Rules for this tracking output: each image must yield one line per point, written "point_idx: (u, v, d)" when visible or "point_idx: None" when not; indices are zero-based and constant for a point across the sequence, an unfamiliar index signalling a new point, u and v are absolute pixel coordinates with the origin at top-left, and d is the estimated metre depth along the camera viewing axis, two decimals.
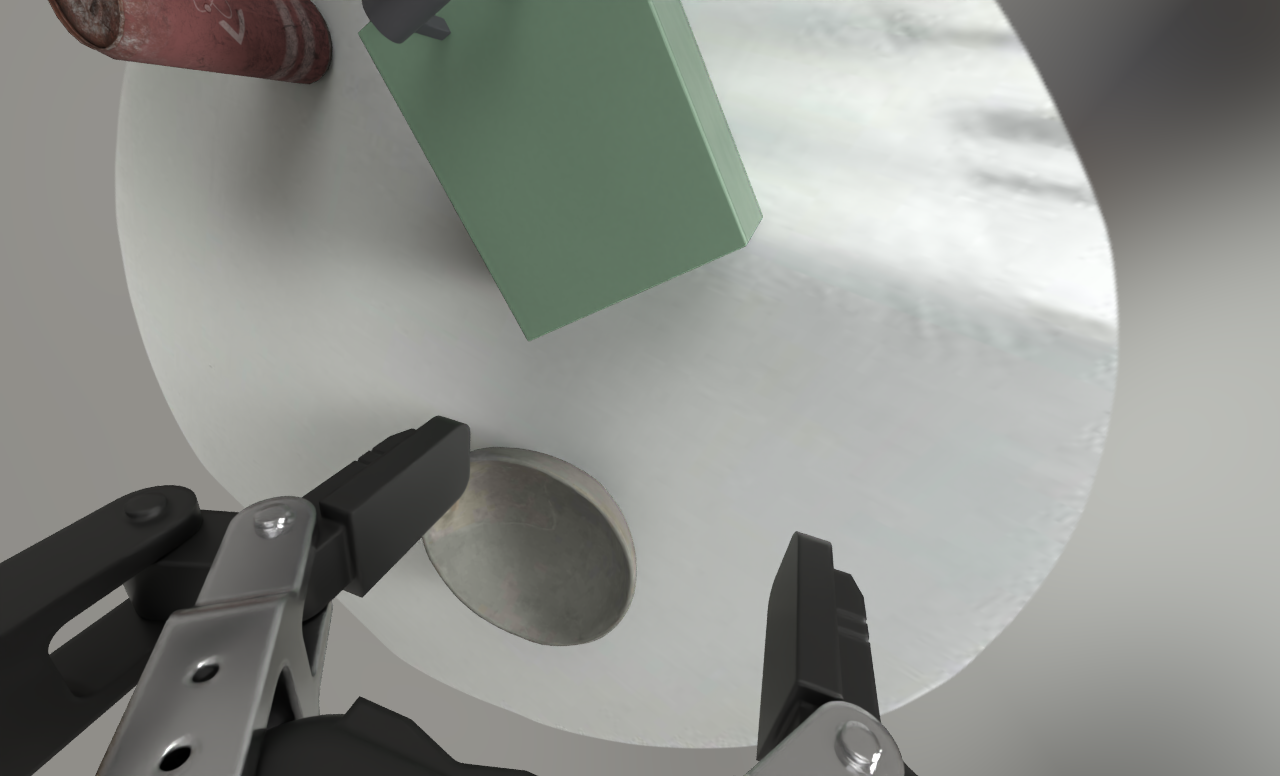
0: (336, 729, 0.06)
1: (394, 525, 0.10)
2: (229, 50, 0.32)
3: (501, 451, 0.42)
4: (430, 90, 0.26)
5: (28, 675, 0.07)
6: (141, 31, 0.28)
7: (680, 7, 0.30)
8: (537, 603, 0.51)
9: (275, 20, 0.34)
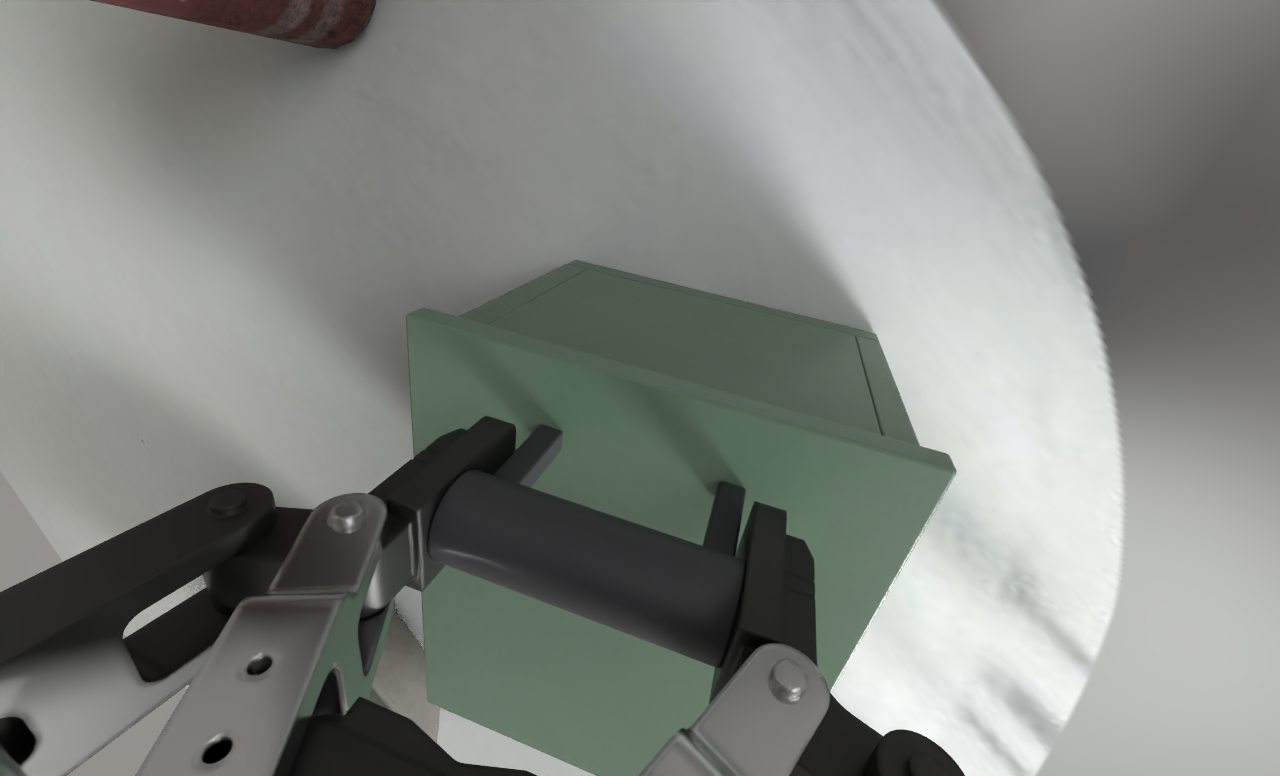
0: (336, 729, 0.06)
1: None
2: (151, 2, 0.16)
3: None
4: None
5: (102, 658, 0.07)
6: None
7: None
8: None
9: None
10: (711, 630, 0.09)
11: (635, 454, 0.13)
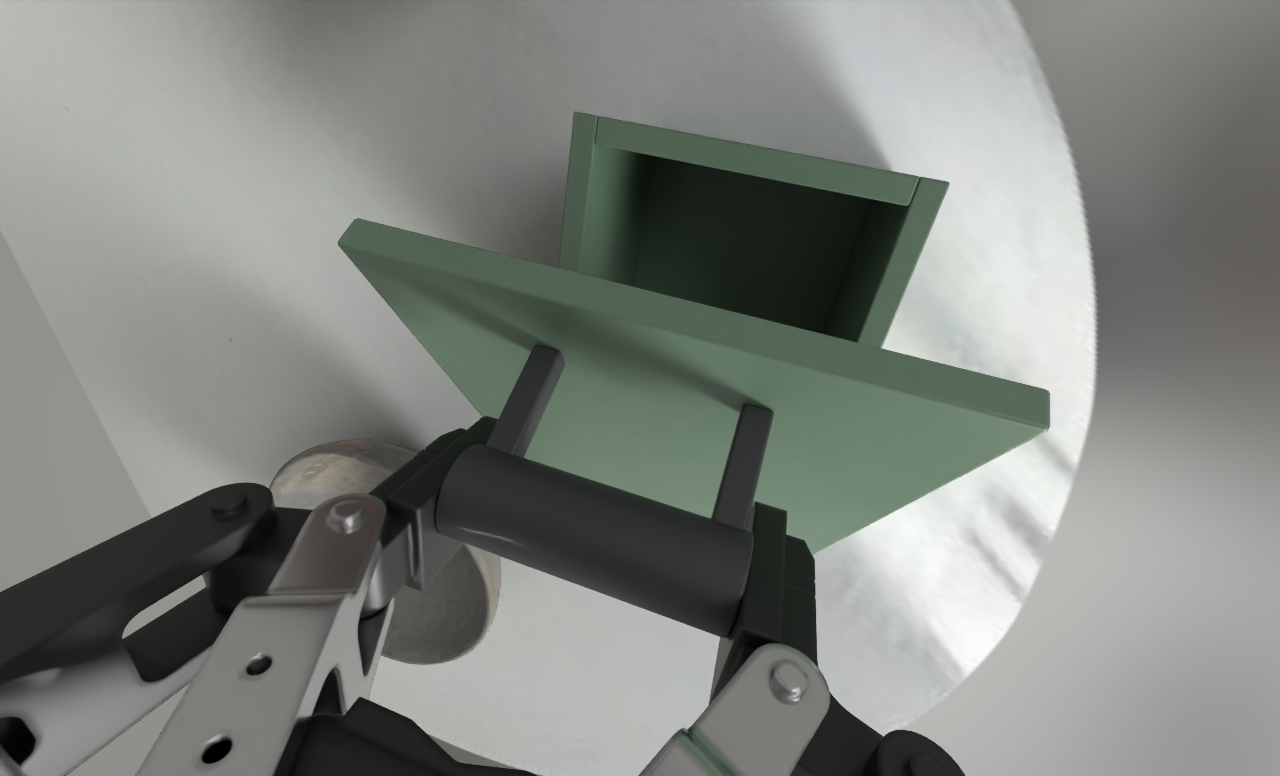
0: (336, 729, 0.06)
1: None
2: None
3: None
4: (489, 363, 0.14)
5: (102, 658, 0.07)
6: None
7: None
8: None
9: None
10: (711, 626, 0.09)
11: (645, 374, 0.11)
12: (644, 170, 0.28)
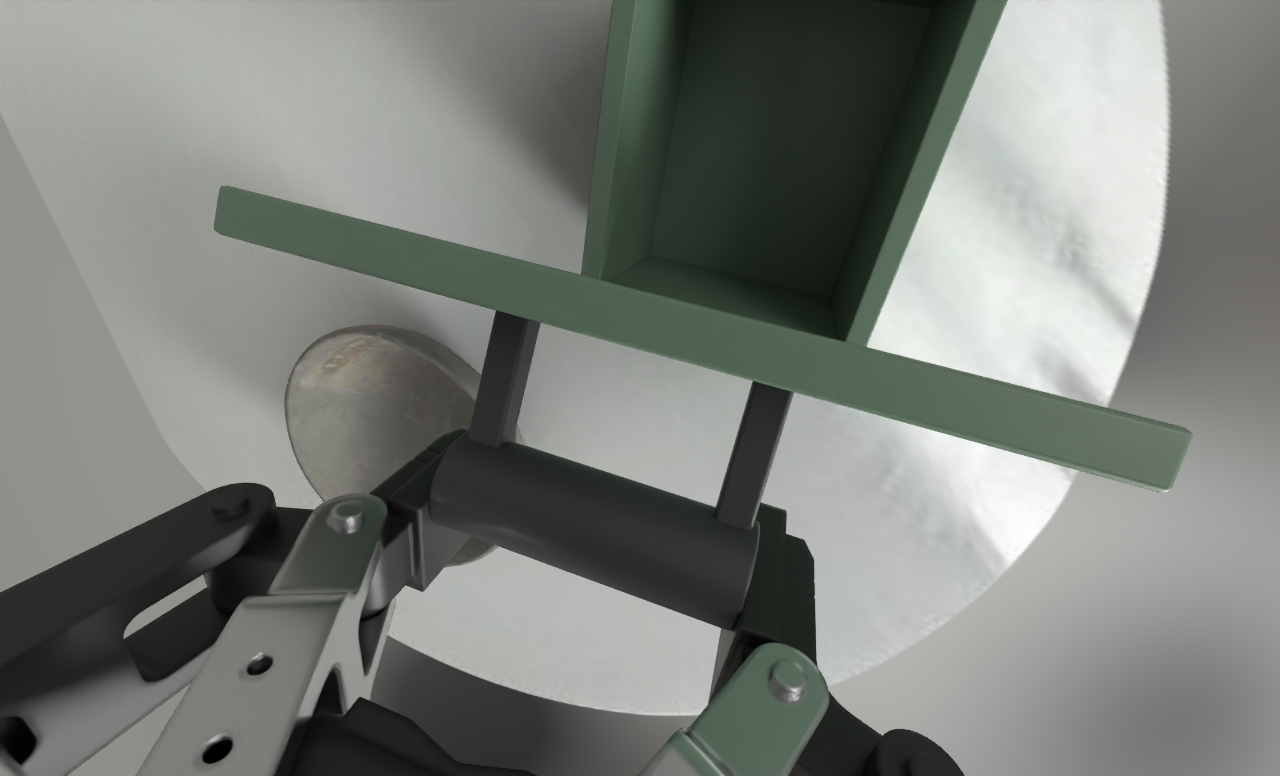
0: (336, 729, 0.06)
1: None
2: None
3: (441, 354, 0.36)
4: None
5: (103, 658, 0.07)
6: None
7: None
8: None
9: None
10: None
11: None
12: None
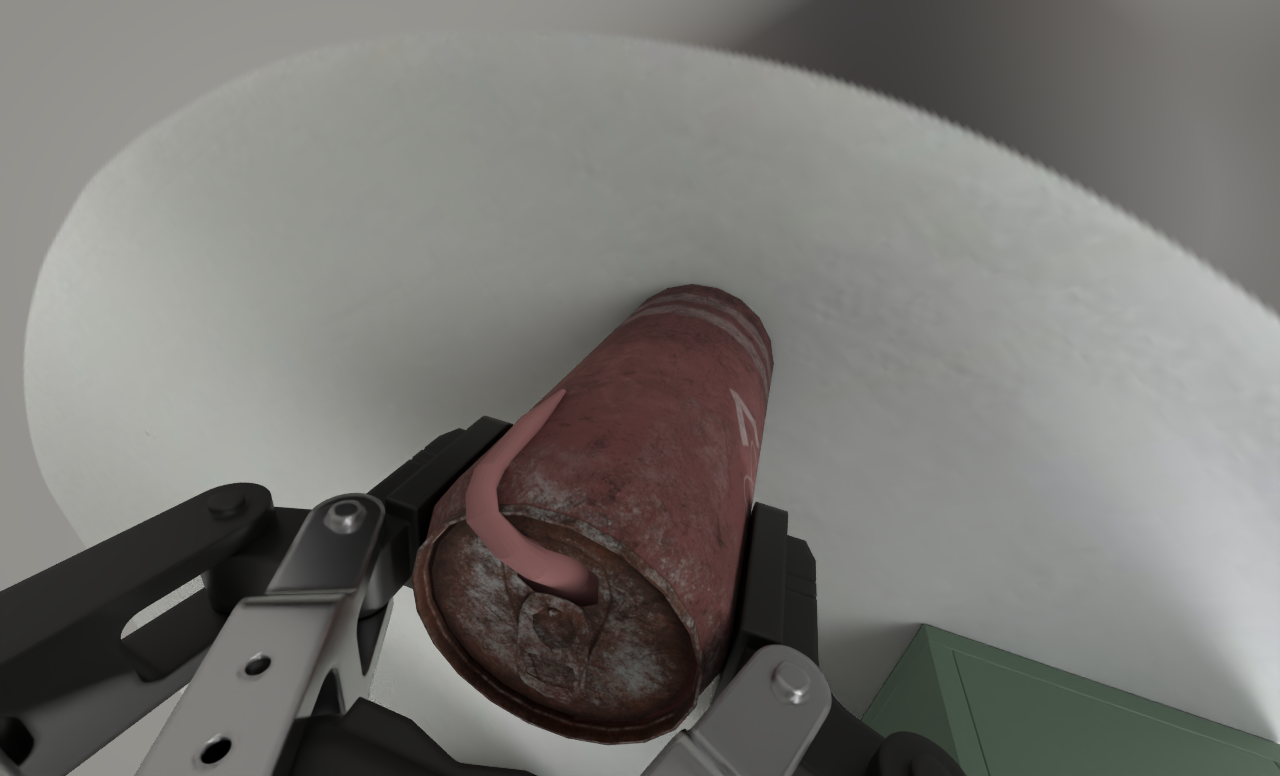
0: (336, 729, 0.06)
1: None
2: None
3: None
4: None
5: (100, 658, 0.07)
6: None
7: None
8: None
9: None
10: None
11: None
12: None
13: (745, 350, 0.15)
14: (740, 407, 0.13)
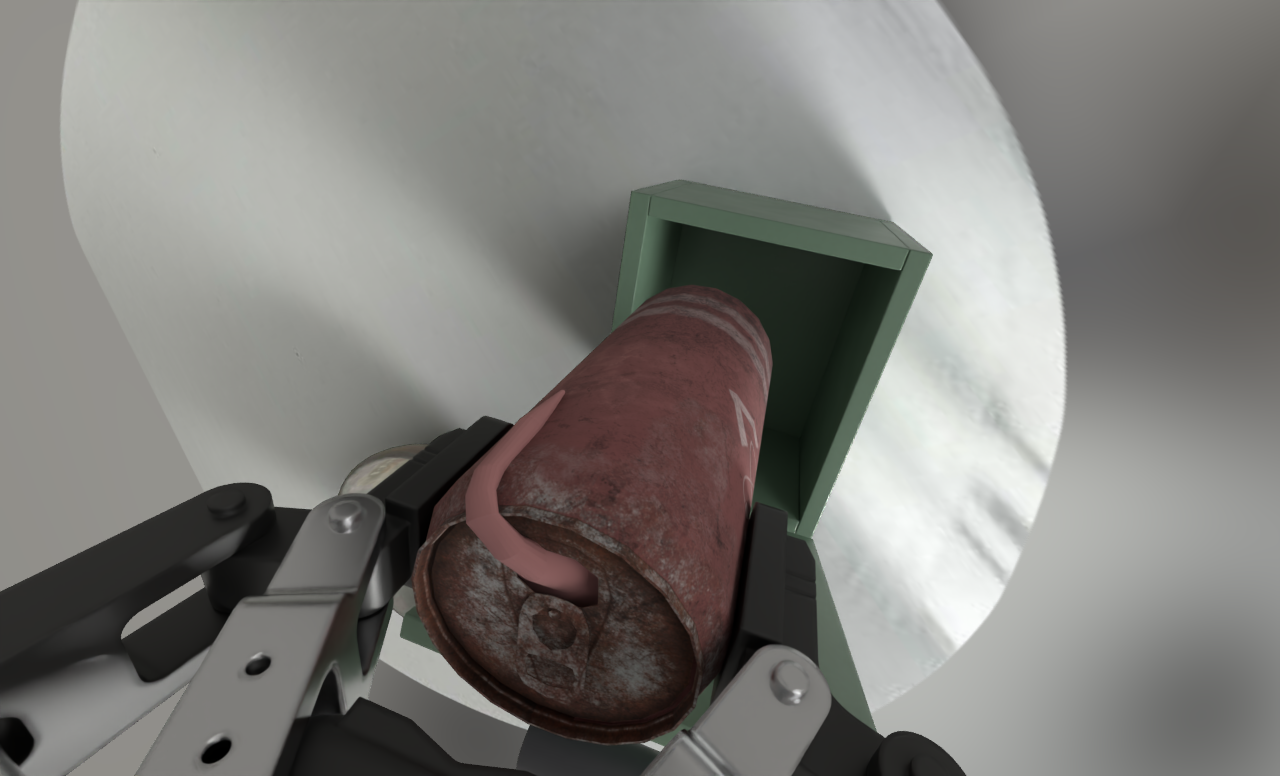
0: (336, 729, 0.06)
1: None
2: None
3: None
4: None
5: (100, 658, 0.07)
6: None
7: None
8: None
9: None
10: None
11: None
12: None
13: (744, 350, 0.16)
14: (739, 407, 0.13)
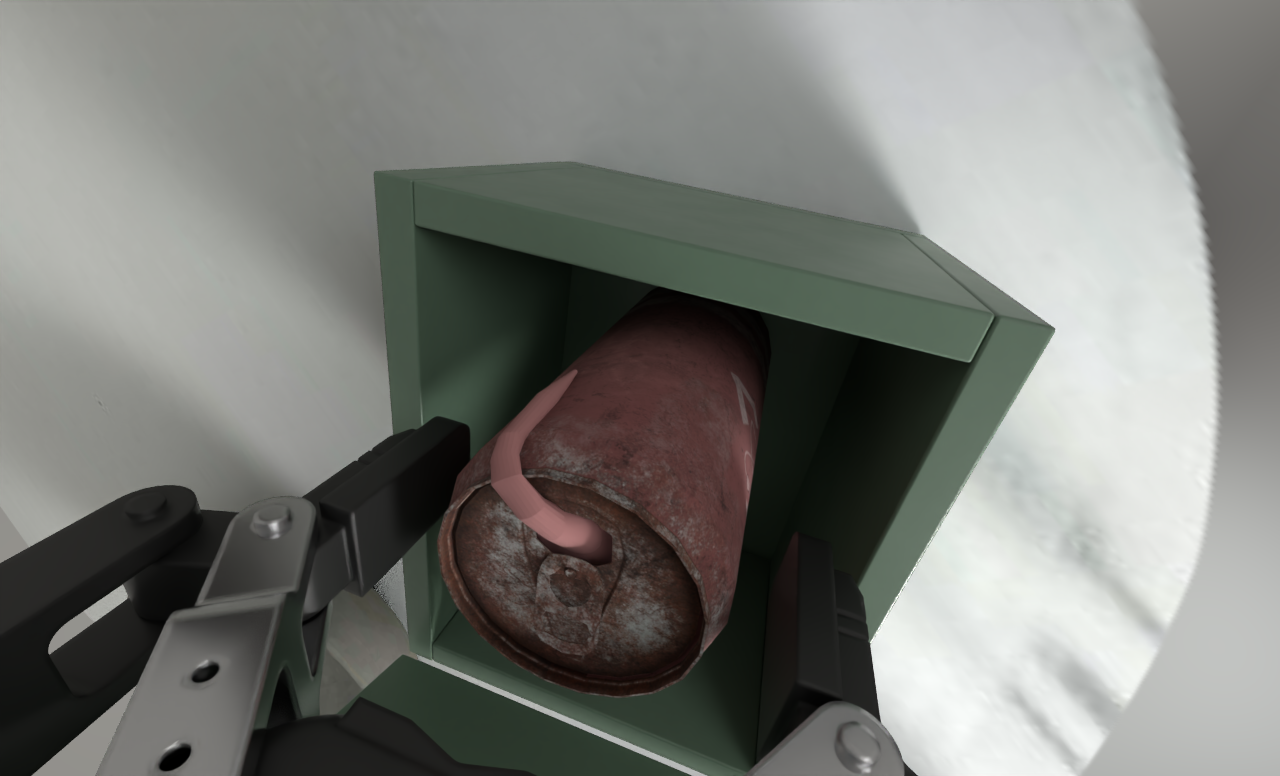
0: (336, 729, 0.06)
1: (394, 525, 0.10)
2: None
3: None
4: None
5: (28, 675, 0.07)
6: None
7: None
8: None
9: None
10: None
11: None
12: None
13: (744, 337, 0.16)
14: (740, 389, 0.13)
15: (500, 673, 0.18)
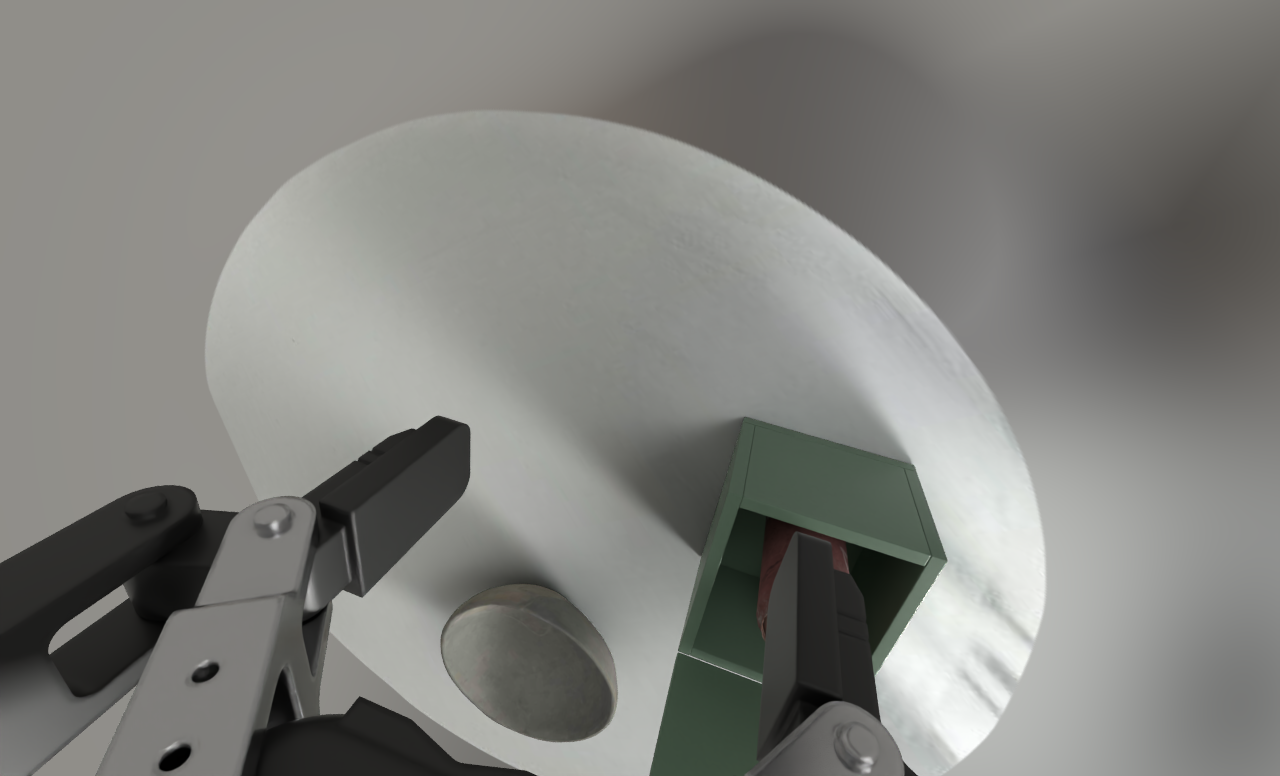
0: (336, 729, 0.06)
1: (394, 525, 0.10)
2: None
3: (564, 621, 0.51)
4: None
5: (28, 675, 0.07)
6: None
7: None
8: (498, 681, 0.62)
9: None
10: None
11: None
12: None
13: None
14: (843, 553, 0.36)
15: (725, 661, 0.41)
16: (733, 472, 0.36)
